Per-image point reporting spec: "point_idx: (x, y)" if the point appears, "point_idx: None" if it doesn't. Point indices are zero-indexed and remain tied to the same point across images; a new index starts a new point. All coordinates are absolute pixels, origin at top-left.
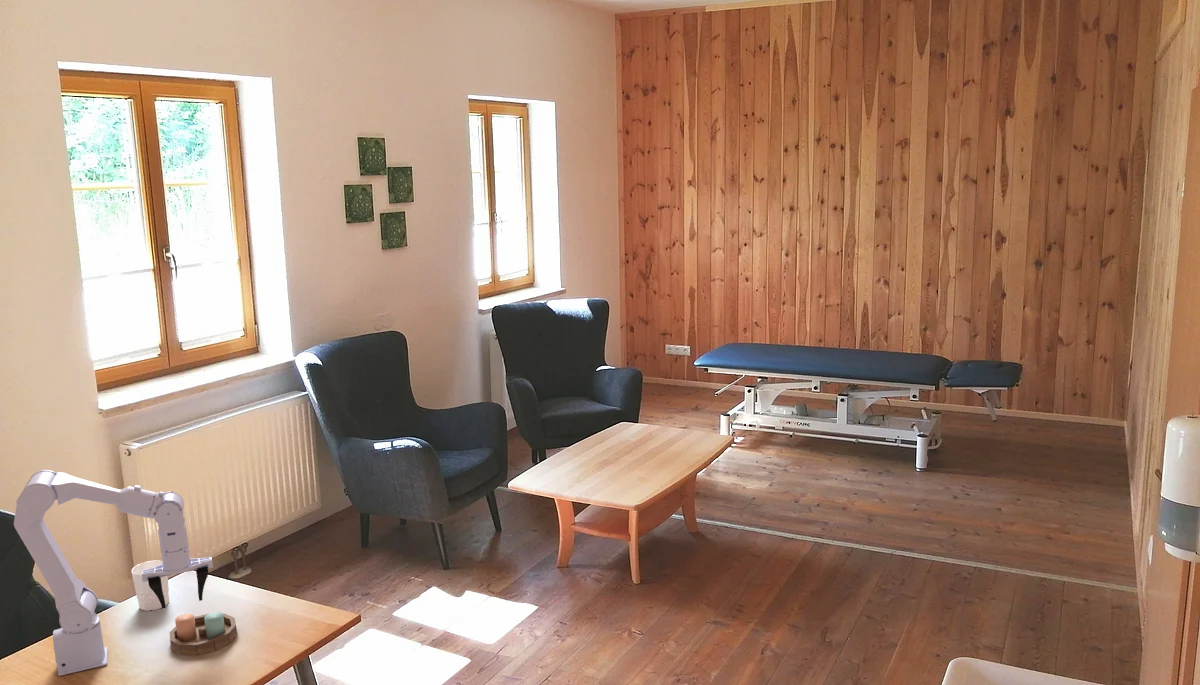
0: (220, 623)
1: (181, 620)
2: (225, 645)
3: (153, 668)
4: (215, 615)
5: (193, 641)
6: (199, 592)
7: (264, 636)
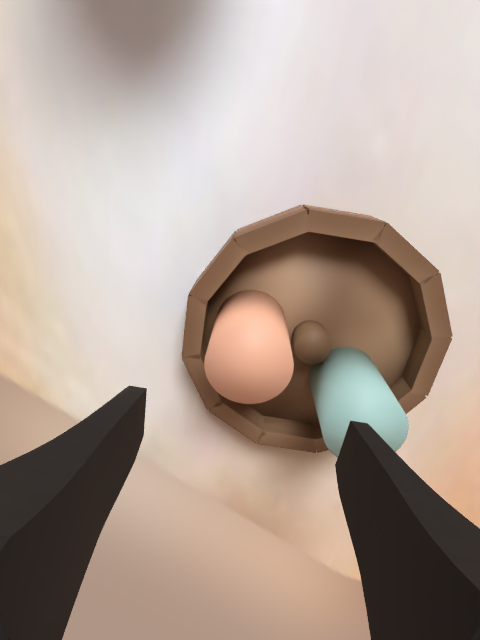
0: None
1: (230, 381)
2: None
3: None
4: (374, 428)
5: None
6: (354, 532)
7: (471, 435)
